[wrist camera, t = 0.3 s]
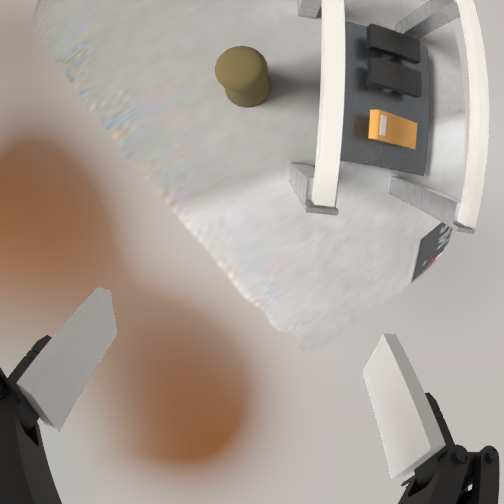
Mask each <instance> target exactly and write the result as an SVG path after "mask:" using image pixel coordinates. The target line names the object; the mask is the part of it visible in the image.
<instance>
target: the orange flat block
mask: <svg viewBox="0 0 504 504" xmlns="http://www.w3.org/2000/svg"><path fill="white" fill-rule="evenodd" d="M416 134H417V123H415V122H412V121H410V120H407V119H405V118H402V117H399V116H397V115H394V114H391V113H388V112H385V111H382V110H370V123H369V137H368V138H370V139H374V140H378V141H382V142H386V143H390V144H394V145H398V146H401V147H405V148H410V149H415V146H416Z"/></svg>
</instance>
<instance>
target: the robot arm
mask: <svg viewBox="0 0 504 504" xmlns="http://www.w3.org/2000/svg"><path fill="white" fill-rule="evenodd" d="M116 335H117V329H116V324H115V318H114V311H113V305H112V298H111V291H110V290H106V289H102V288H99V287H98V288H96V289H95V291H94V292H93V293H92V294H91V295H90V296H89V297H88V298H87V299H86V300H85V301H84V302H83V303H82V304H81V305H80V306H79V308H78V309H77V310H76V311H75V312H74V313H73V314H72V315H71V316H70V318H69V319H68V320H67V321H66V322H65V323H64V324H63V326H62V327H61V328H60V329H59V330H58V331H57V333H56V334H55V335H54V336H53V337H50V336H48V335H47V336H45V337H43V338H42V339H40V340H39V341H37V342H36V344H35V345H34V346H33V347H32V348H31V350H30V351H29V352H28V353H27V354H26V357H24V358H23V359H22V360H21V362H20V363H19V364H18V365H17V367H16V368H15V369H14V370H13V372H12V373H11V374H10V376H9V377H8V378H6V376H5V374H4V373H3V371H2V370H1V368H0V504H62V503H61V500H60V498H59V495H58V493H57V490H56V487H55V484H54V481H53V478H52V475H51V472H50V469H49V465H48V462H47V458H46V455H45V451H44V447H43V442H42V438H41V433H40V429H39V425H38V422H37V420H38V418H39V417H40V418H41V420H42V421H43V422H44V424H45V425H47V426H49V427H50V428H52V429H54V430H56V431H58V432H59V431H60V430H61V428H62V426H63V424H64V422H65V420H66V418H67V416H68V415H69V413H70V411H71V409H72V407H73V406H74V404H75V402H76V400H77V399H78V397H79V395H80V393H81V392H82V390H83V388H84V387H85V385H86V383H87V382H88V380H89V378H90V377H91V375H92V373H93V372H94V370H95V368H96V367H97V365H98V364H99V362H100V360H101V359H102V357H103V356H104V354H105V352H106V351H107V349H108V348H109V346H110V345H111V343H112V342H113V340H114V339H115V337H116ZM362 373H363V376H364V380H365V383H366V386H367V389H368V393H369V395H370V399H371V402H372V406H373V410H374V413H375V416H376V420H377V424H378V428H379V431H380V435H381V438H382V442H383V447H384V451H385V455H386V459H387V463H388V468H389V472H390V477H391V479H395V478H398V477H403V476H406V475H407V474H409V473H410V472H412V471H413V470H414V472H415V475H414V476H412V477H411V478H409V479H408V480H406V481H405V482H403V484H402V485H401V486H404V485H406V484H407V483H409V484H408V486H407V487H406V490H405V492H404V494H403V496H402V497H401V499H400V501H399V503H398V504H498V496H499V455H498V452H497V450H496V449H495V448H494V447H493V446H486V447H484V448H483V449H482V450H481V451H480V452H467V450H466V449H465V448H464V447H463V446H461V445H455V444H454V442H453V439H452V437H451V434H450V432H449V429H448V427H447V424H446V422H445V420H444V418H443V415H442V413H441V411H440V408H439V406H438V404H437V401H436V400H435V399H434V398H433V396H432V395H431V394H430V393H424V391H423V389H422V387H421V384H420V382H419V380H418V378H417V376H416V374H415V372H414V370H413V367H412V365H411V363H410V361H409V359H408V357H407V355H406V353H405V351H404V349H403V347H402V346H401V344H400V342H399V340H398V338H397V336H396V334H383V335H382V337H381V339H380V341H379V343H378V344H377V346H376V348H375V350H374V352H373V354H372V355H371V357H370V359H369V361H368V363H367V364H366V366H365V368H364V370H363V371H362ZM471 484H472V489H471V490H470V491H468V486H469V485H471Z"/></svg>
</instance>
